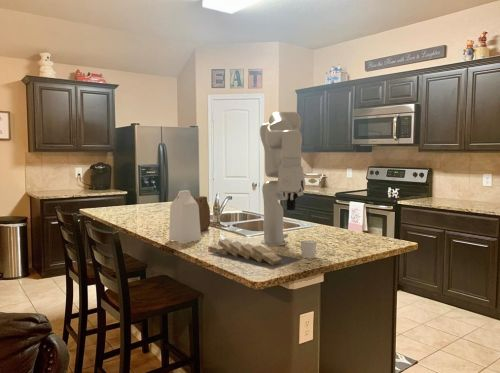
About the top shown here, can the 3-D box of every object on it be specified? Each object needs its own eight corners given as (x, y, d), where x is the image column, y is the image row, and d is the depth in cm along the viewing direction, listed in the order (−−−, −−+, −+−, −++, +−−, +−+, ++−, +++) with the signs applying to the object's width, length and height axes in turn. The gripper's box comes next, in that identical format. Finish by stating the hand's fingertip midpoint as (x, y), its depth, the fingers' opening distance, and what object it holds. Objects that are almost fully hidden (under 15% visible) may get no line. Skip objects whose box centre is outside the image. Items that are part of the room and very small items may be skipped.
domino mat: (240, 248, 197) (240, 246, 197) (302, 260, 173) (302, 259, 173) (209, 255, 182) (209, 254, 182) (272, 270, 158) (272, 269, 158)
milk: (182, 243, 207) (182, 192, 205) (169, 240, 214) (168, 191, 212) (201, 240, 216) (200, 190, 214) (187, 237, 223) (186, 189, 221)
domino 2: (248, 259, 172) (228, 247, 180) (255, 257, 176) (236, 245, 183) (249, 255, 172) (229, 243, 179) (257, 253, 176) (237, 241, 183)
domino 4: (272, 265, 164) (251, 251, 171) (280, 262, 167) (259, 249, 175) (273, 260, 163) (252, 247, 170) (281, 258, 167) (260, 245, 174)
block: (198, 232, 238) (198, 197, 236) (189, 230, 242) (189, 196, 241) (211, 229, 246) (211, 196, 244) (203, 228, 251) (202, 195, 249)
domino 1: (236, 257, 177) (217, 244, 184) (244, 254, 181) (225, 242, 188) (237, 252, 176) (218, 240, 184) (245, 250, 180) (226, 238, 187)
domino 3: (260, 262, 168) (240, 249, 175) (268, 260, 172) (248, 247, 179) (261, 258, 167) (241, 245, 175) (269, 255, 171) (249, 243, 178)
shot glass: (301, 255, 182) (301, 239, 182) (317, 256, 180) (317, 240, 180) (299, 259, 176) (299, 243, 175) (315, 260, 174) (315, 244, 173)
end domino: (226, 254, 181) (208, 250, 189) (234, 252, 185) (216, 248, 193) (226, 250, 181) (208, 246, 189) (234, 248, 185) (216, 244, 193)
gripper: (270, 162, 160) (269, 209, 162) (301, 163, 150) (301, 212, 152) (281, 162, 166) (281, 207, 167) (313, 162, 156) (312, 210, 157)
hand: (291, 209), depth 160 cm, fingers closed
